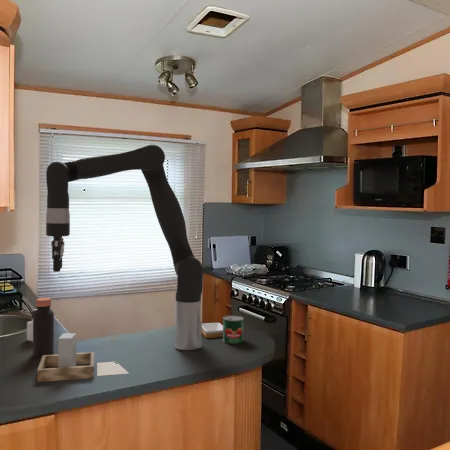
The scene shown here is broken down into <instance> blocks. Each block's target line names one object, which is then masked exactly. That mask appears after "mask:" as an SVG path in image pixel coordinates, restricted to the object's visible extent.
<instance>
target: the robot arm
mask: <svg viewBox="0 0 450 450" xmlns="http://www.w3.org/2000/svg"><path fill="white" fill-rule="evenodd" d="M165 161H166V155H165V152H164V150H163V149H162V147H160V146H159V145H156V144H152V143H151V144H146V145H144V146H141V147H139V148H136V149H133V150H130V151H125V152H120V153H113V154H106V155H96V156H89V157H84V158H79V159H77V160H73V161H72V160H71V161H66V162H62V161H54V162H53V161H52V162H51V163H49V164H48V166H47V168H46V170H45V171H46V173H45V175H46V187H47V188H46V190H47V195H46V198H47V199H46V214H45V236H47V237H53V240H52V241H51V242H50V245H51V246H50V247H51V259H52V264H53V266H52V271H53V272H57V273H58V272H61V269H62V268H63V256H64V253H65V240H64V237H70V235H71V233H70V232H71V226H70V225H71V214H70V194H69V183H70V182H71V183H72V182H74V181H79V180H87V179H93V178H100V177H105V176H109V175H114V174H117V173H121V172H127V171H135V170H141V173H142V174H143V178H144V179H145V181H146V184H147V186H148V190H149V193H150V199H151V202H152V206H153V209H154V212H155V216H156V218H157V221H158V225H159V226H160V229H161V231H162V233H163V236H164V239H165V240H166V242H167V245H168V247H169V250H170V254H171V258H172V262H173V268H174V271H175V275H176V276H177V280H176V281H177V284H176V287H177V288H176V292H175V309H174V310H175V311H174V312H175V314H174V315H175V316H174V317H175V319H174V320H175V323H174V324H175V325H174V326H175V327H174V328H175V329H174V347H175V348H176V349H177V350H181V351H194V350H198V349H202V342H203V341H202V339H203V338H202V336H203V335H202V324H203V322H202V321H201V319H202V318H201V312H202V311H201V309H202V306H201V305H202V304H201V303H202V301H201V300H202V294H203V282H204V269H203V265H202V263H201V261H200V260H199V259H197V258H196V256H195V255H194V253H193V251H192V248H191V246H190V244H189V239H188V235H187V226H186V220H185V216H184V214H183V210H182V207H181V204H180V202H179V200H178V198H177V196H176V194H175V192H174V190H173V188H172V187H171V185H170V183H169V181H168V178H167V175H166V170H165V167H164V166H165V165H164V164H165Z"/></svg>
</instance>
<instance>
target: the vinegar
mask: <svg viewBox="0 0 450 450" xmlns="http://www.w3.org/2000/svg"><path fill="white" fill-rule="evenodd" d="M51 306H52V298H51V297H40V298H36V299H35V307H36V309H37V310H36V311H35V312H34V313H33V342H32V357H34V358H36V359H42V356H43V355H55V354H54V352H55V351H54V348H55V346H54V345H55V340H54V339H55V338H54V337H55V329H54V328H55V314H54V313H55V312H54V311H53V310H52V309H51Z"/></svg>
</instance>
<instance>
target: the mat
mask: <svg viewBox="0 0 450 450" xmlns="http://www.w3.org/2000/svg"><path fill="white" fill-rule="evenodd" d="M114 362H115V361H105V362H97V363H96V375H97V377H104V376H118V375H125V374H126V375H128V374H129V371H127V370H126V369H125V368H124V367H123V366H122V365H120V364H119V363H118V364H116V363H114Z"/></svg>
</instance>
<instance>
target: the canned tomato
mask: <svg viewBox="0 0 450 450" xmlns="http://www.w3.org/2000/svg"><path fill="white" fill-rule="evenodd" d="M244 319H245V318H244V317H243V316H241V315H225V316H223V317H222V326H223V337H222V342H223V343H224V344H227V345H228V344H229V345H238V344H241V343H243V342H244Z"/></svg>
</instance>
